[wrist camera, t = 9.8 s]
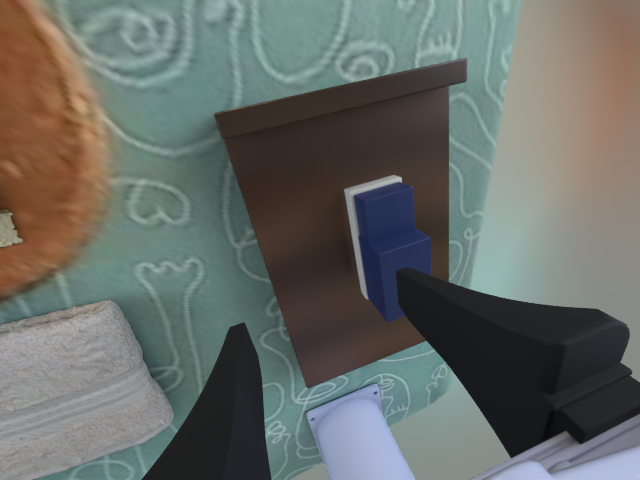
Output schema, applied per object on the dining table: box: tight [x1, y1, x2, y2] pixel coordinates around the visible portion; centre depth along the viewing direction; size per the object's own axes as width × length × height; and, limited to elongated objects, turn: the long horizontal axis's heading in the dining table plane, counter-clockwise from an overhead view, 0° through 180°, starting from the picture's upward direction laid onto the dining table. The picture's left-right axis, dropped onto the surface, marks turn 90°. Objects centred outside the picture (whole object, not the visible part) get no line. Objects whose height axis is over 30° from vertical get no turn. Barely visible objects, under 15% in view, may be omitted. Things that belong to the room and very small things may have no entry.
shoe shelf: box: [214, 58, 467, 388], centre depth 21 cm, size 22×14×4 cm, turn 12°
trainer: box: [344, 175, 432, 323], centre depth 19 cm, size 8×4×4 cm, turn 12°
